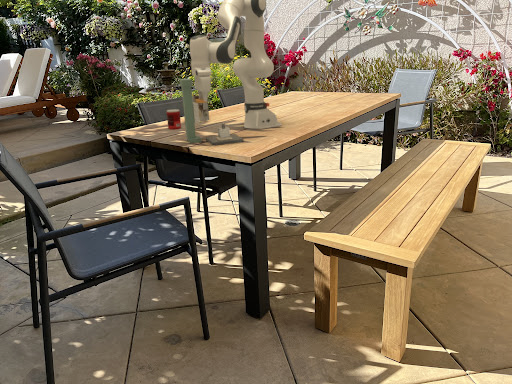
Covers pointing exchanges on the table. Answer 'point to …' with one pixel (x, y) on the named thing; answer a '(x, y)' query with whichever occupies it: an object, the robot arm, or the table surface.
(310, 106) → the table surface
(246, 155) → the table surface
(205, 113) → the coffee box
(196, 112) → the ram
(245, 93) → the robot arm
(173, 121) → the canned food
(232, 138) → the plate
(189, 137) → the frame
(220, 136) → the housing
